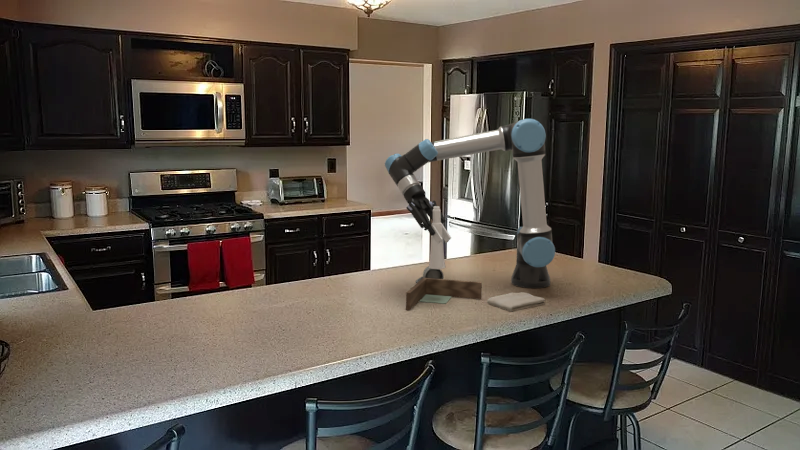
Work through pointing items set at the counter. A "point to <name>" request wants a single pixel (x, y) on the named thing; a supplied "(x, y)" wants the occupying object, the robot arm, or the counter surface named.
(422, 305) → the counter surface
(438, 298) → the mat
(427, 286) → the walnut corner walls
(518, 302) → the washcloth
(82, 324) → the counter surface
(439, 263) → the cosmetic bottle
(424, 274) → the ceramic mug
